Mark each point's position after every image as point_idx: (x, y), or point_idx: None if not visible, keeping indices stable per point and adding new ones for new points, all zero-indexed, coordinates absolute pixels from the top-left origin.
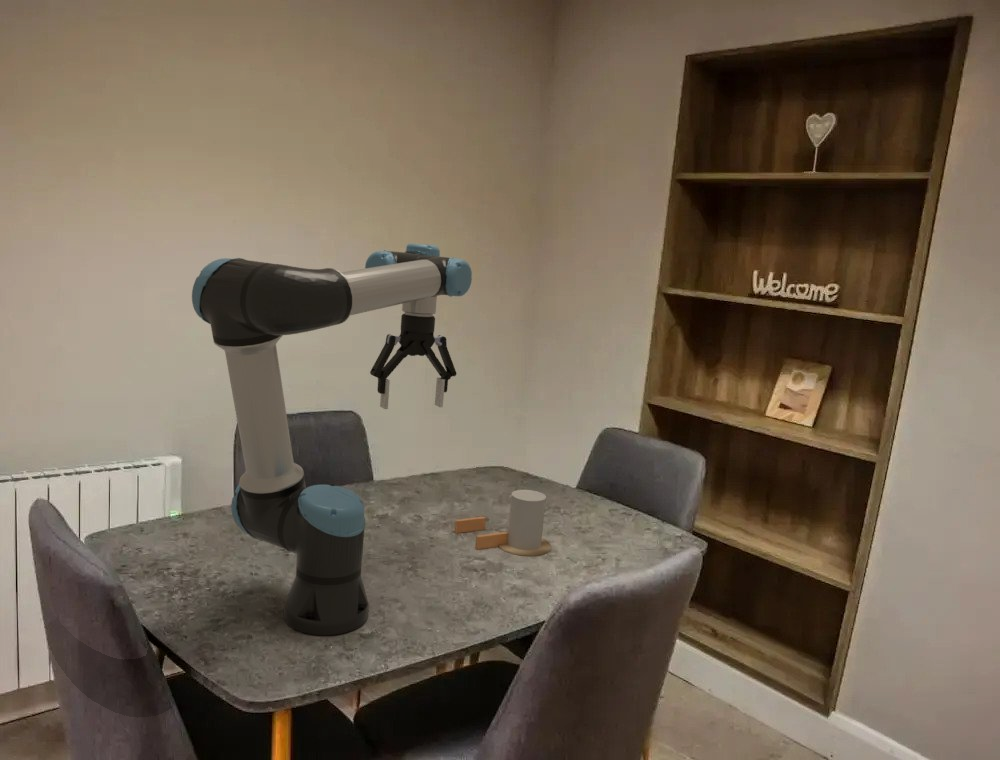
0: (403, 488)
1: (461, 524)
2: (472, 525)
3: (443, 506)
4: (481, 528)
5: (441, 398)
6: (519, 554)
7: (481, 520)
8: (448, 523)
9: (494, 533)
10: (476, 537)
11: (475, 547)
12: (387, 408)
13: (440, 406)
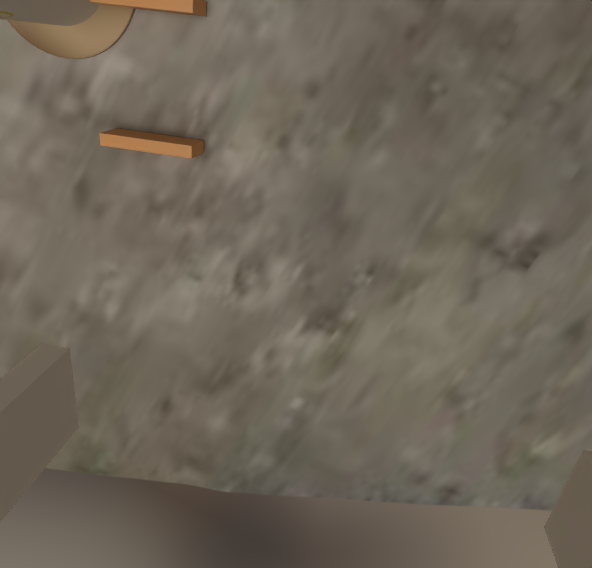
0: (188, 435)
1: (181, 141)
2: (149, 135)
3: (149, 309)
4: (126, 130)
5: (3, 396)
6: None
7: (116, 133)
8: (190, 209)
9: (130, 3)
10: (194, 11)
11: (205, 14)
12: (587, 455)
13: (59, 351)
